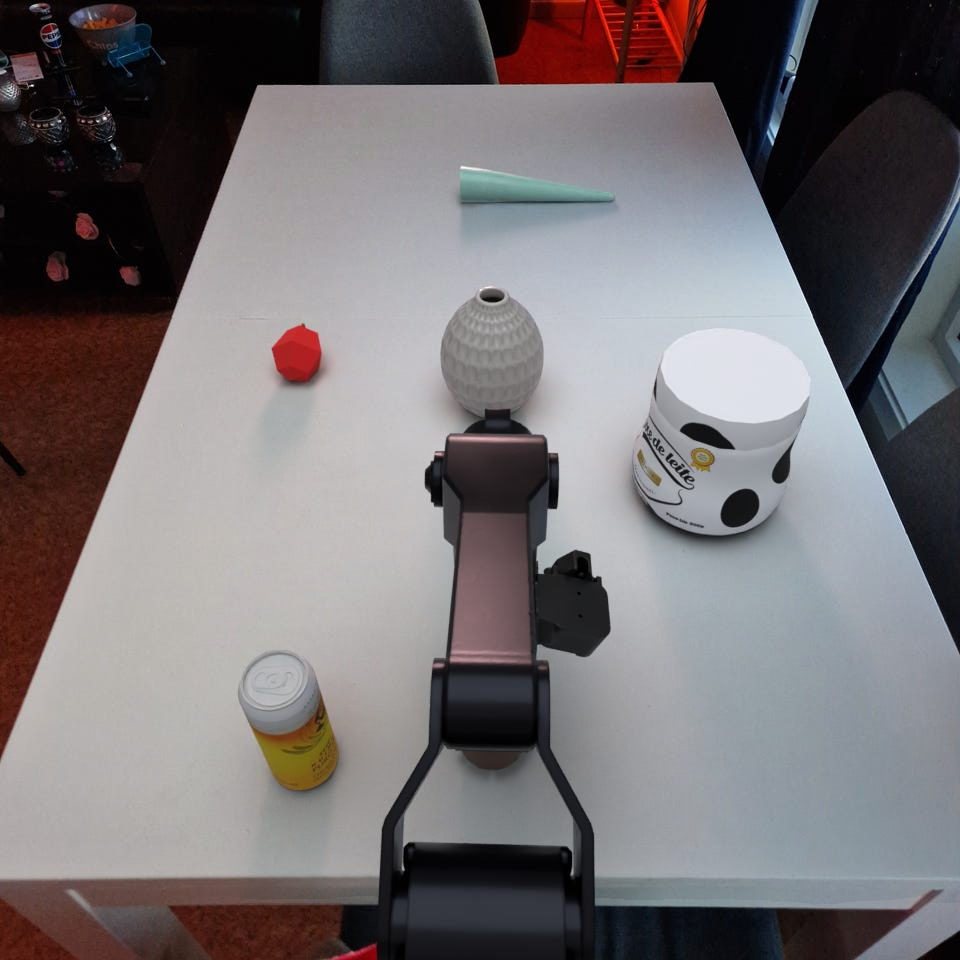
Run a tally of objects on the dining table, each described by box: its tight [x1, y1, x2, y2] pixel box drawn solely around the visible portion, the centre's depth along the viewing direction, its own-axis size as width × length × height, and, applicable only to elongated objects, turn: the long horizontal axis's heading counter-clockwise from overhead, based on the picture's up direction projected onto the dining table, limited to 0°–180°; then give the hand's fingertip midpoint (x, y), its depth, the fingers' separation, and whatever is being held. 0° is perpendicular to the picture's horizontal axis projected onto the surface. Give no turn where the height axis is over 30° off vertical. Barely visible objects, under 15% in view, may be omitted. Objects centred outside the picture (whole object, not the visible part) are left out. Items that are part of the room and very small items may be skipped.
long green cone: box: [459, 165, 616, 203], centre depth 141 cm, size 5×6×27 cm
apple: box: [271, 322, 323, 383], centre depth 110 cm, size 7×7×8 cm
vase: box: [439, 285, 545, 418], centre depth 102 cm, size 13×13×17 cm
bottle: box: [462, 751, 522, 771], centre depth 72 cm, size 6×6×13 cm
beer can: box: [237, 648, 339, 791], centre depth 69 cm, size 6×6×15 cm
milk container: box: [631, 327, 811, 537], centre depth 90 cm, size 17×17×18 cm
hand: (493, 683), depth 69 cm, fingers open, 4 cm apart
